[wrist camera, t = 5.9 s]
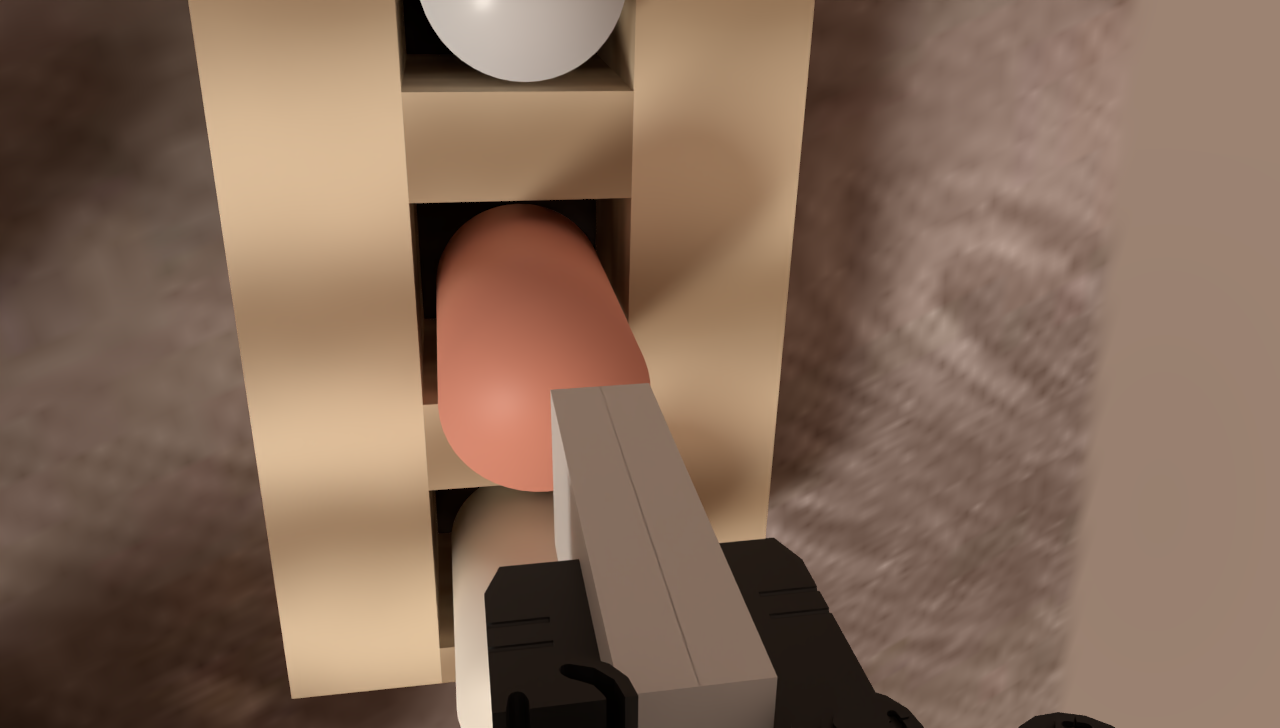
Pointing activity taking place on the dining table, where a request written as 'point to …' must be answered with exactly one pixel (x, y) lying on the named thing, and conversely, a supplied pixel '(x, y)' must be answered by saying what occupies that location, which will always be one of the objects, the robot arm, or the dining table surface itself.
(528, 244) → the brick plug
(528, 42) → the grey plug
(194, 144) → the dining table surface
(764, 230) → the maple block
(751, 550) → the robot arm
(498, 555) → the cream plug
